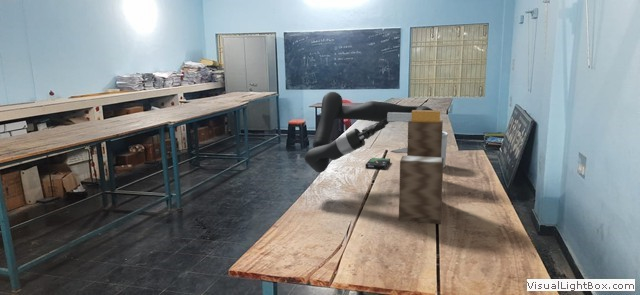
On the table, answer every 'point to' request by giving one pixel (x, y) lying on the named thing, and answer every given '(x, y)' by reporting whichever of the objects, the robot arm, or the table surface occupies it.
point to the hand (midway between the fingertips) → (386, 122)
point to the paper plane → (401, 150)
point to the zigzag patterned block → (422, 174)
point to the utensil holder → (444, 146)
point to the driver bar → (415, 116)
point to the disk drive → (377, 163)
